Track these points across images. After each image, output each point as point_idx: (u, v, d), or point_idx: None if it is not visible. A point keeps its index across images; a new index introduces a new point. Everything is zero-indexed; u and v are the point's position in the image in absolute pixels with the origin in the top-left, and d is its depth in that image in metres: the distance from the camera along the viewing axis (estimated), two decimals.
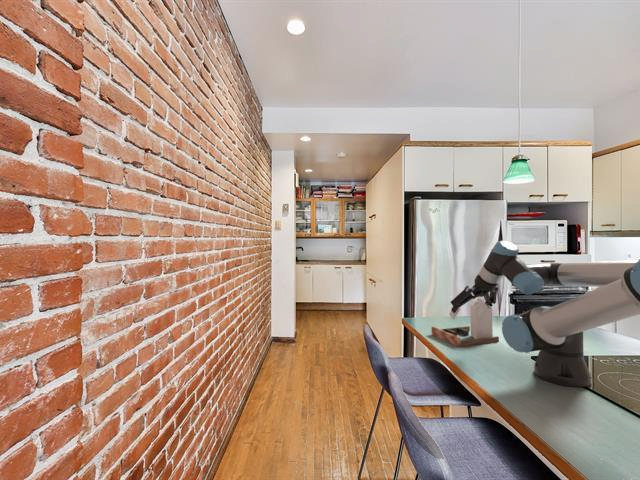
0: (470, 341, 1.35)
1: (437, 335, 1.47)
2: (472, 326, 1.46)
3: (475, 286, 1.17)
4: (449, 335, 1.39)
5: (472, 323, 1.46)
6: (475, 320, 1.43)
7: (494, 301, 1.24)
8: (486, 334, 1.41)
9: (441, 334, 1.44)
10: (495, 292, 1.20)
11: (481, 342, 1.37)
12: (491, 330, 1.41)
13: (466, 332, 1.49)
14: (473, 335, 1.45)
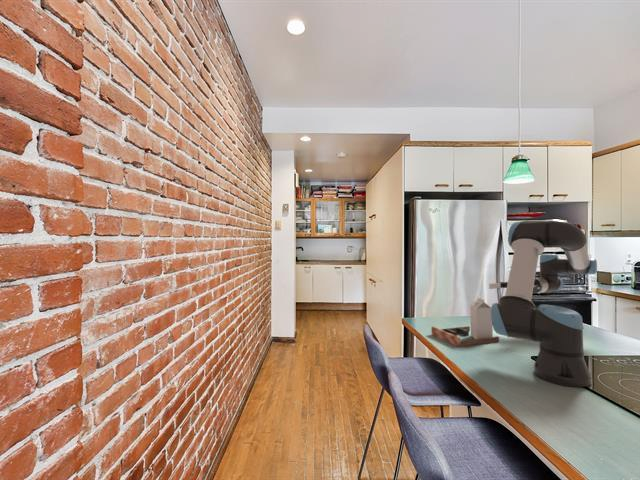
0: (470, 341, 1.35)
1: (437, 335, 1.47)
2: (472, 326, 1.46)
3: None
4: (449, 335, 1.39)
5: (472, 323, 1.46)
6: (475, 320, 1.43)
7: None
8: (486, 334, 1.41)
9: (441, 334, 1.44)
10: (535, 285, 1.46)
11: (481, 342, 1.37)
12: (491, 330, 1.41)
13: (466, 332, 1.49)
14: (473, 335, 1.45)
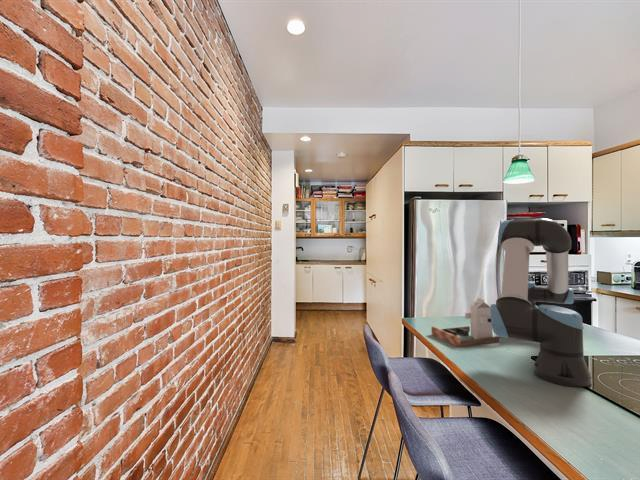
0: (470, 341, 1.35)
1: (437, 335, 1.47)
2: (472, 326, 1.46)
3: None
4: (449, 335, 1.39)
5: (472, 323, 1.46)
6: (475, 320, 1.43)
7: None
8: (486, 334, 1.41)
9: (441, 334, 1.44)
10: None
11: (481, 342, 1.37)
12: (491, 330, 1.41)
13: (466, 332, 1.49)
14: (473, 335, 1.45)
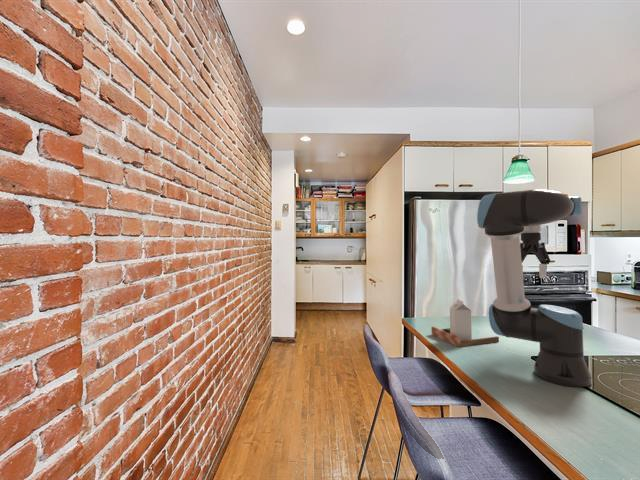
0: (470, 341, 1.35)
1: (437, 335, 1.47)
2: (451, 328, 1.43)
3: (524, 242, 1.38)
4: (449, 335, 1.39)
5: (451, 325, 1.43)
6: (454, 322, 1.39)
7: (548, 259, 1.40)
8: (465, 337, 1.38)
9: (441, 334, 1.44)
10: (544, 247, 1.39)
11: (481, 342, 1.37)
12: (470, 333, 1.38)
13: None
14: None
